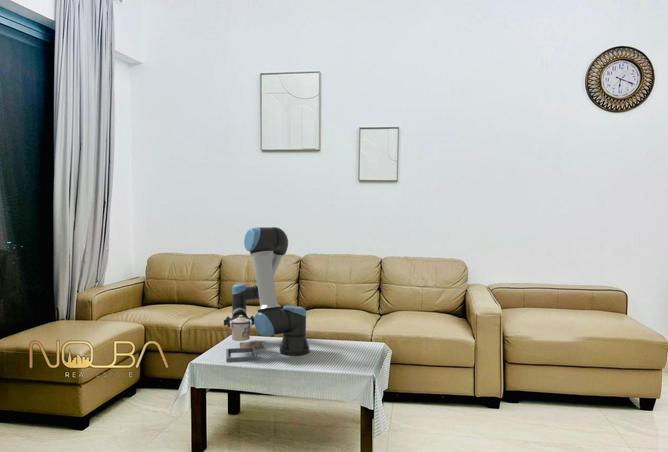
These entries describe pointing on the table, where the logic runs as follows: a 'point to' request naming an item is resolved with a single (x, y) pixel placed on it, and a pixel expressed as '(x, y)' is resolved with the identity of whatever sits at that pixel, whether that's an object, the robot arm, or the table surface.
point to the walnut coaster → (252, 345)
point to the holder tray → (235, 359)
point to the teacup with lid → (240, 329)
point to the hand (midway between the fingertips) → (240, 325)
